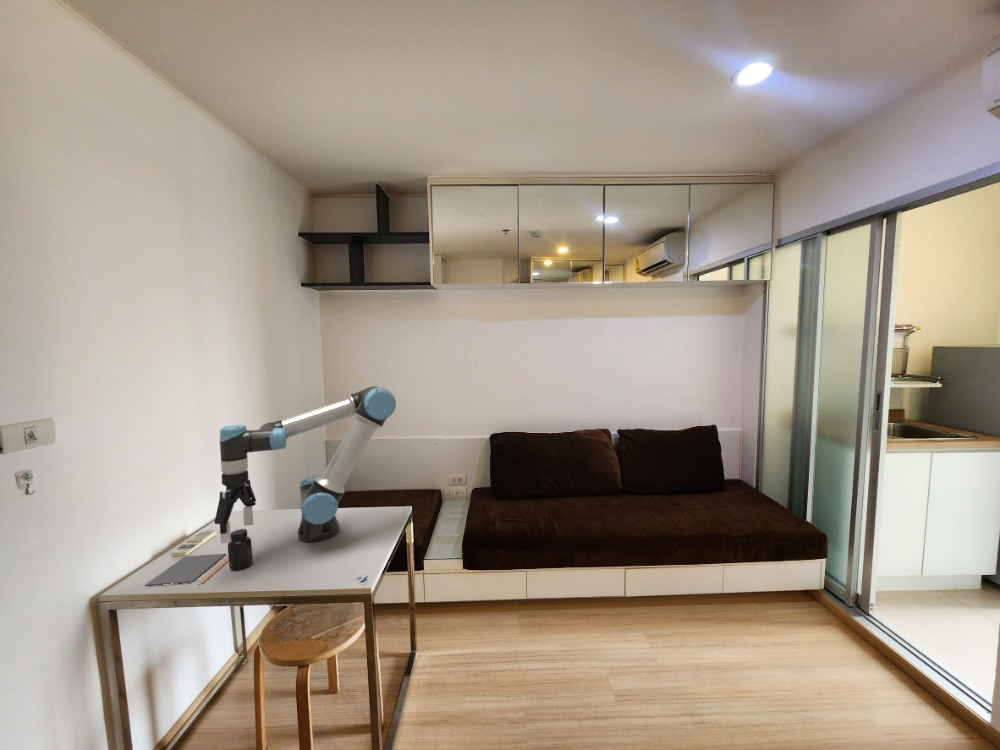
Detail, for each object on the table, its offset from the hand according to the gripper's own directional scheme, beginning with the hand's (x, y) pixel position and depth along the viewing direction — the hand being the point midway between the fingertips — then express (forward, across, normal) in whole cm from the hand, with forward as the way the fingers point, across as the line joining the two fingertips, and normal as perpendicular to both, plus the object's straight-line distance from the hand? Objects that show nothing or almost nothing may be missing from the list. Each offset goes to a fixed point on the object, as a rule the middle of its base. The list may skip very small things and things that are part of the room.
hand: (237, 533), depth 135 cm
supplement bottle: (+12, 0, 0) cm, 12 cm away
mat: (+12, 0, -16) cm, 20 cm away
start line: (+12, 0, -6) cm, 13 cm away
